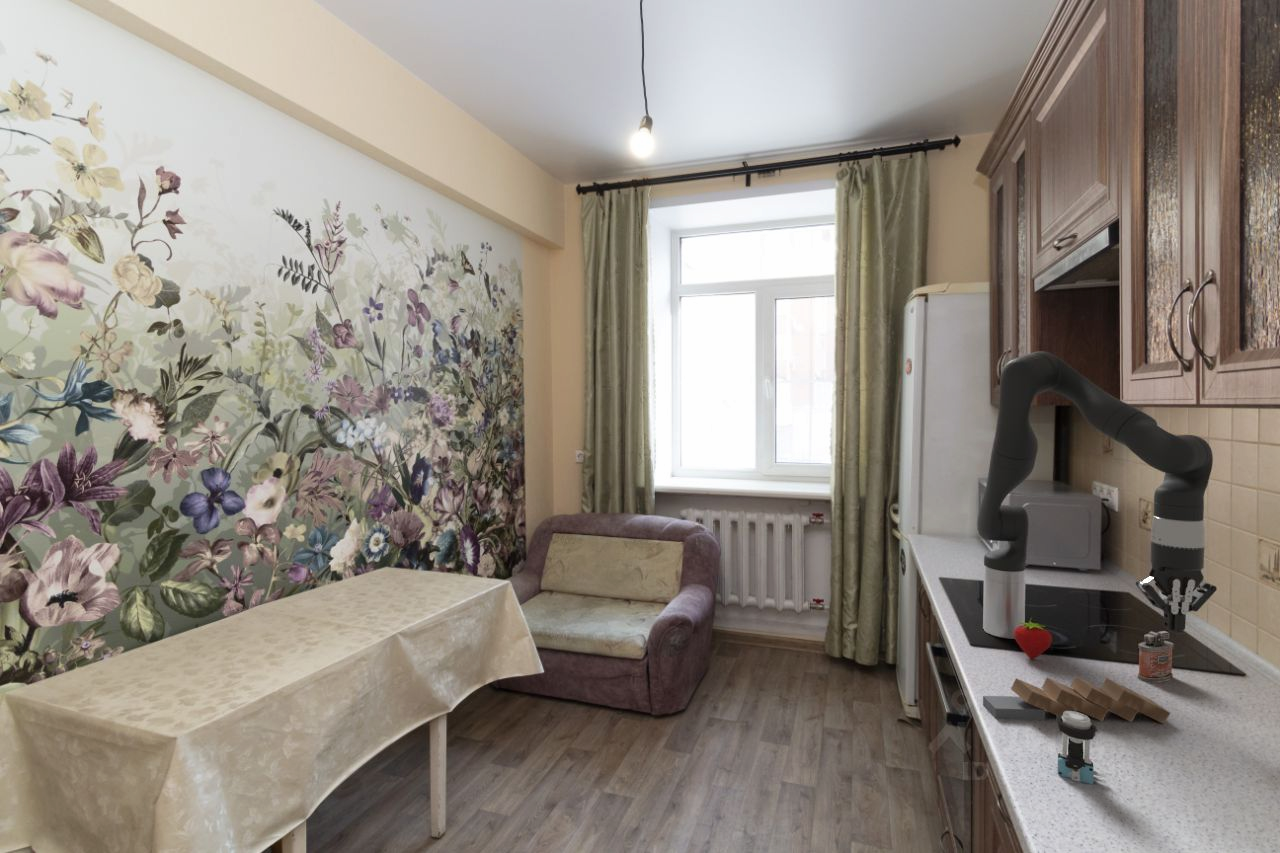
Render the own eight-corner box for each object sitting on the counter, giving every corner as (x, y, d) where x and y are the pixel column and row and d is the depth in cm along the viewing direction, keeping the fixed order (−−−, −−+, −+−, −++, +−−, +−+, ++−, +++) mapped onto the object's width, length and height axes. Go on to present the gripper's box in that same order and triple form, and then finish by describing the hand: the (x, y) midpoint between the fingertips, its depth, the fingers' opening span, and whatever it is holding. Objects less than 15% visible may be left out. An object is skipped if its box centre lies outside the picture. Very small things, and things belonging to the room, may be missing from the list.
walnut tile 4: (1069, 720, 114) (1026, 702, 114) (1051, 706, 119) (1010, 689, 119) (1075, 709, 114) (1032, 691, 114) (1057, 695, 119) (1016, 678, 119)
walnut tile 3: (1102, 721, 114) (1056, 700, 115) (1085, 707, 119) (1041, 687, 120) (1108, 710, 114) (1061, 689, 115) (1091, 697, 119) (1047, 677, 120)
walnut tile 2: (1131, 722, 114) (1085, 698, 114) (1113, 708, 119) (1070, 686, 119) (1137, 711, 113) (1092, 688, 114) (1119, 698, 118) (1076, 675, 119)
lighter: (1149, 684, 128) (1151, 637, 128) (1133, 676, 132) (1134, 631, 131) (1177, 678, 130) (1178, 633, 130) (1160, 672, 134) (1161, 627, 133)
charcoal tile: (1045, 722, 115) (995, 720, 116) (1030, 708, 120) (983, 707, 121) (1045, 709, 115) (995, 708, 115) (1030, 696, 120) (983, 695, 120)
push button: (1105, 776, 98) (1106, 716, 97) (1107, 794, 93) (1108, 731, 93) (1055, 763, 101) (1056, 704, 101) (1055, 779, 97) (1056, 719, 97)
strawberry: (1052, 667, 137) (1053, 623, 136) (1013, 660, 141) (1014, 618, 140) (1050, 657, 142) (1051, 615, 141) (1013, 650, 146) (1013, 610, 145)
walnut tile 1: (1163, 724, 113) (1117, 701, 114) (1144, 710, 118) (1100, 688, 118) (1170, 713, 113) (1124, 690, 113) (1150, 699, 118) (1106, 677, 118)
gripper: (1153, 546, 110) (1150, 638, 111) (1233, 546, 109) (1229, 640, 110) (1125, 536, 118) (1122, 623, 119) (1199, 536, 116) (1196, 625, 117)
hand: (1174, 631), depth 114 cm, fingers closed
